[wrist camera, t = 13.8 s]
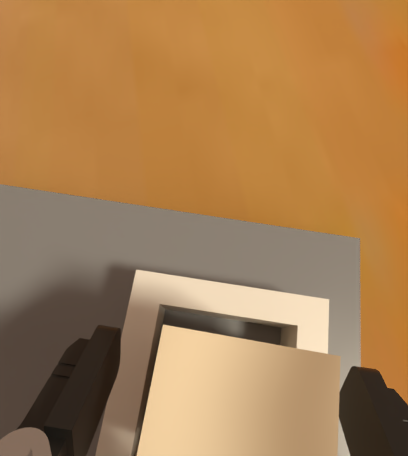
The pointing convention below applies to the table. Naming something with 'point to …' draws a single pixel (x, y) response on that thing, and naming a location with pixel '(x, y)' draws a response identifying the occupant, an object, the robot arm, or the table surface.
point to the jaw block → (239, 398)
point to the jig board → (158, 294)
